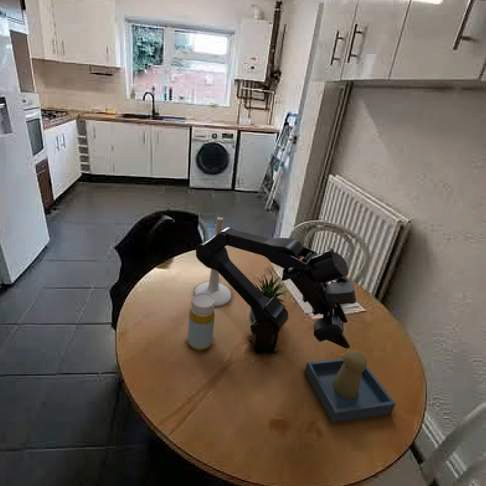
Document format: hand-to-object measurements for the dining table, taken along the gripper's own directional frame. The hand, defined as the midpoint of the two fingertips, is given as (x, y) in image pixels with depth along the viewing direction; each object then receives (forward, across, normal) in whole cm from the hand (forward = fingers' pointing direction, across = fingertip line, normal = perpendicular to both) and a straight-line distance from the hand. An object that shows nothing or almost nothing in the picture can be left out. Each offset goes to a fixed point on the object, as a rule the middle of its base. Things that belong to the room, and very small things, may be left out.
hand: (347, 334), depth 77 cm
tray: (+11, -5, +8) cm, 15 cm away
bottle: (-16, -4, +36) cm, 40 cm away
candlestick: (-19, +18, +38) cm, 46 cm away
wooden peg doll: (+11, -5, +7) cm, 14 cm away
